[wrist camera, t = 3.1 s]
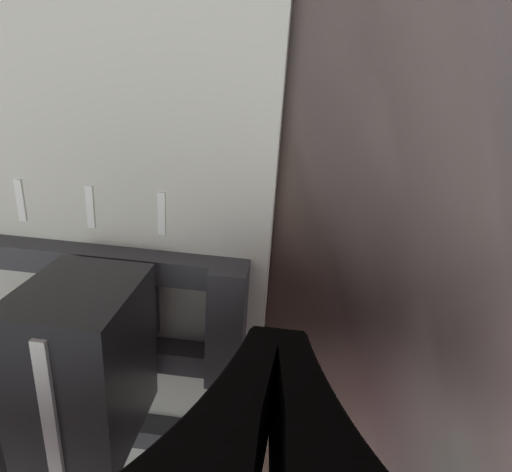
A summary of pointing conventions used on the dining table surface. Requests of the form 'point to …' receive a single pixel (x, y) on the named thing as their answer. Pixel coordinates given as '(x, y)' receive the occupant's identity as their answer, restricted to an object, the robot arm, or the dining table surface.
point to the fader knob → (77, 364)
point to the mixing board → (148, 162)
